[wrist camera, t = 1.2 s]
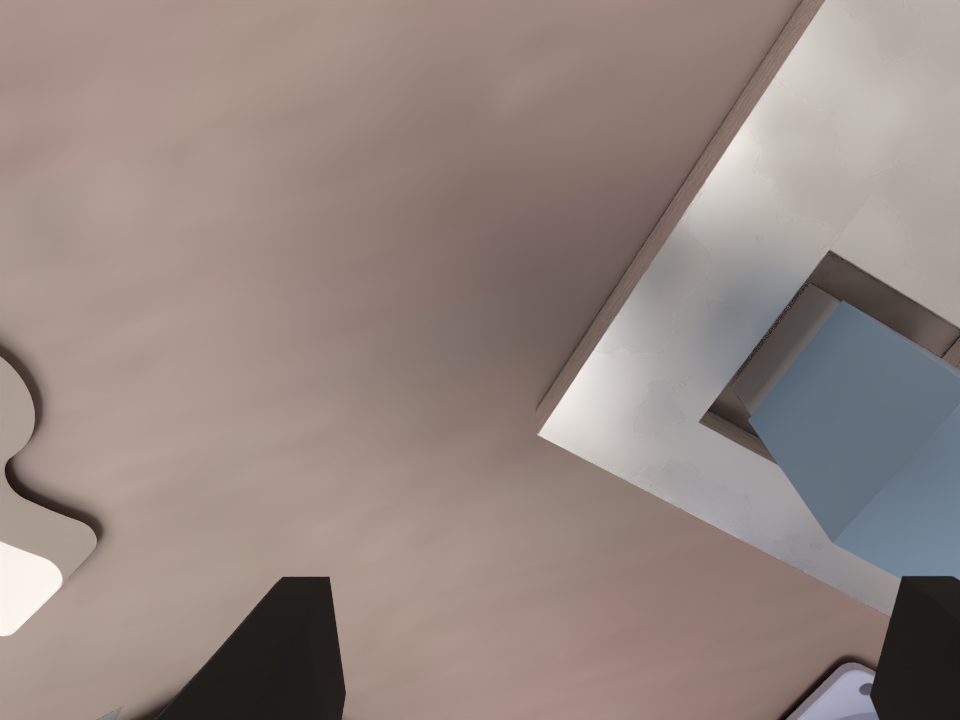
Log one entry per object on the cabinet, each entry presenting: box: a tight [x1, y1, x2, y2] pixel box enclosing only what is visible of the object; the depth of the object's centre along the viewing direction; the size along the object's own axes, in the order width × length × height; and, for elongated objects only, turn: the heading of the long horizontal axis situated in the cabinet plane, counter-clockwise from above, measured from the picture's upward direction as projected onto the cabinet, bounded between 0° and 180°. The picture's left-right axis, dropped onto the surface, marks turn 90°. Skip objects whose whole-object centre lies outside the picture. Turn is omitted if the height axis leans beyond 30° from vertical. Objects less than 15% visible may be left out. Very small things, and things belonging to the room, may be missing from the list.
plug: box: [731, 283, 960, 580], centre depth 16 cm, size 4×4×7 cm
